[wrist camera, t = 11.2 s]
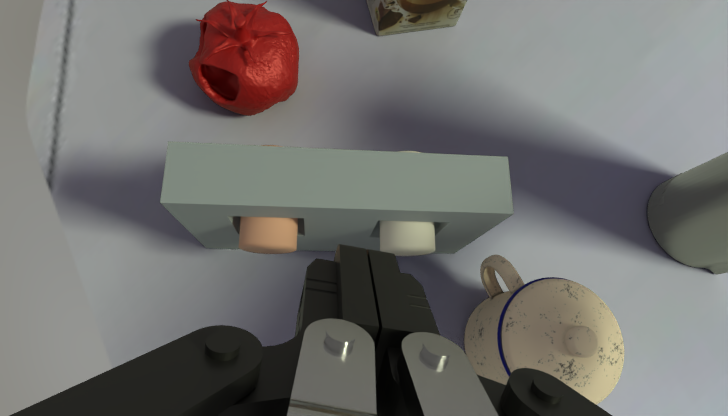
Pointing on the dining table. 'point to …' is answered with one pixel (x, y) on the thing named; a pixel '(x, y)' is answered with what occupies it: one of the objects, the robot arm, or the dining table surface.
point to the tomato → (246, 58)
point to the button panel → (333, 193)
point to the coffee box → (413, 15)
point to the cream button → (407, 236)
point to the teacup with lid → (544, 332)
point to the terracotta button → (268, 234)
